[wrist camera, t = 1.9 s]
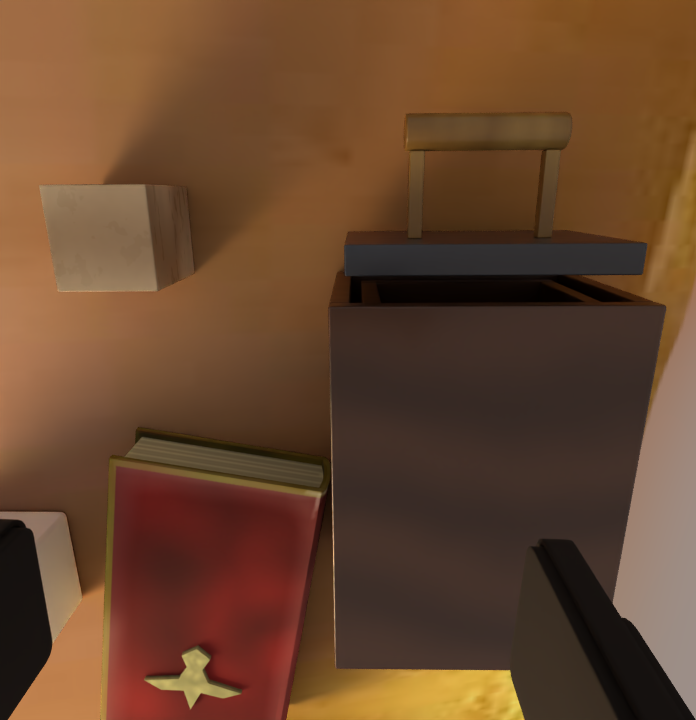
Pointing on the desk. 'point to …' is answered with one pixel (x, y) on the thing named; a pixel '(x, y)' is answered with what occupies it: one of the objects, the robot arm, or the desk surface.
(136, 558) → the hardcover book
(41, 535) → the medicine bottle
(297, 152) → the desk surface
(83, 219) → the block
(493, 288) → the drawer
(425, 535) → the cabinet
